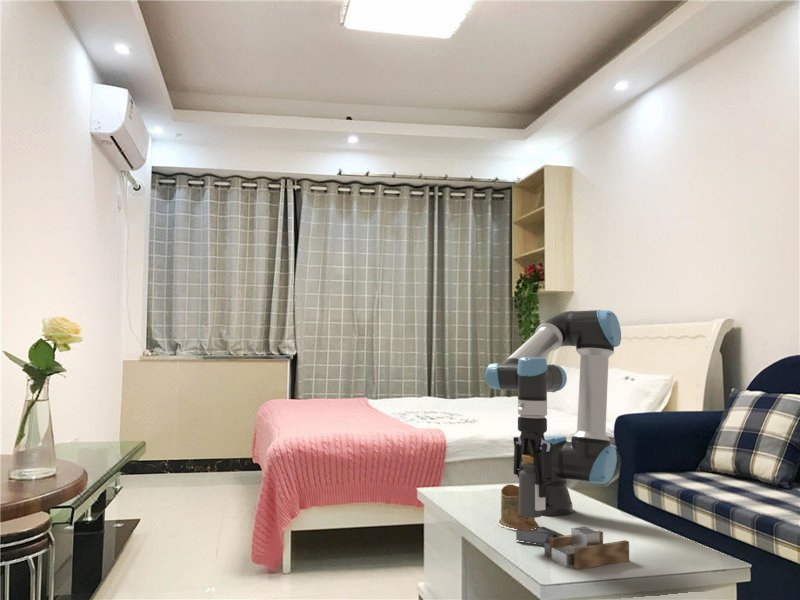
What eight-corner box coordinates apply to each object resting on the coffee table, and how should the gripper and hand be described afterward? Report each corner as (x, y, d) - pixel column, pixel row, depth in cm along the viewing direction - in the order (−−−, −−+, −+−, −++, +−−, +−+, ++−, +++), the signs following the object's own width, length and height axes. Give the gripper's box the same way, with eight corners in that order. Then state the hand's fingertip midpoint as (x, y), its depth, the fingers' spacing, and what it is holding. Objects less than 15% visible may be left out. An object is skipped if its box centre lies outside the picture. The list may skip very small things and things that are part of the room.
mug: (523, 538, 166) (523, 493, 167) (490, 521, 183) (490, 480, 184) (559, 534, 171) (558, 490, 172) (523, 518, 187) (523, 478, 188)
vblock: (541, 537, 168) (541, 525, 168) (575, 552, 156) (575, 539, 156) (514, 540, 164) (514, 529, 165) (547, 556, 152) (546, 544, 152)
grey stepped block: (584, 555, 154) (584, 526, 154) (599, 562, 149) (599, 532, 149) (551, 560, 150) (551, 530, 150) (566, 567, 145) (566, 536, 145)
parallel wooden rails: (599, 548, 159) (599, 530, 159) (629, 560, 150) (629, 541, 150) (550, 556, 152) (550, 537, 153) (577, 569, 143) (577, 549, 144)
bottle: (525, 518, 155) (526, 457, 157) (514, 512, 161) (515, 453, 162) (546, 517, 157) (546, 457, 158) (534, 511, 162) (535, 453, 164)
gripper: (499, 413, 168) (499, 500, 166) (543, 420, 151) (543, 517, 149) (522, 412, 171) (522, 497, 169) (567, 419, 154) (568, 514, 152)
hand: (532, 506), depth 159 cm, fingers closed on bottle, 6 cm apart
